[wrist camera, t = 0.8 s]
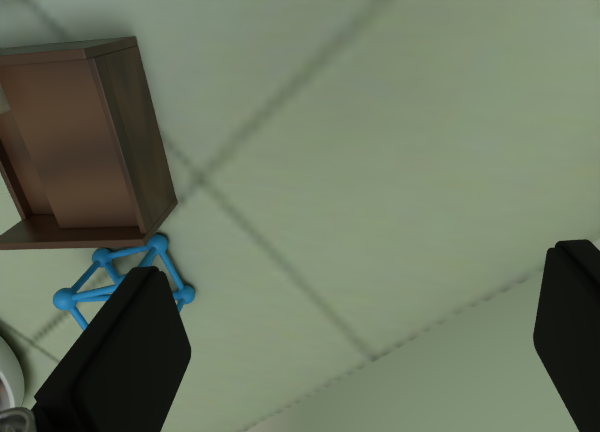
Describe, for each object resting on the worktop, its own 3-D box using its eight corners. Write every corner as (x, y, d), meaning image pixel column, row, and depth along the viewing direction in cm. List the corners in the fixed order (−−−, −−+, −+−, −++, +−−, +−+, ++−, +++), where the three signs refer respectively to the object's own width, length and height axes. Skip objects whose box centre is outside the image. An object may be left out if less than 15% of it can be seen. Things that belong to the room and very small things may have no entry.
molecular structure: (165, 228, 49) (127, 281, 40) (200, 294, 54) (172, 354, 45) (94, 246, 51) (43, 299, 43) (133, 308, 56) (94, 367, 47)
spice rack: (-18, 50, 41) (-104, 64, 33) (135, 36, 39) (83, 48, 31) (48, 208, 49) (-8, 250, 42) (177, 203, 47) (144, 246, 40)
